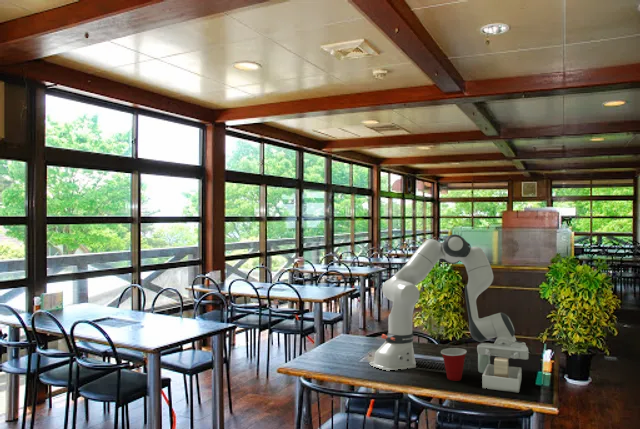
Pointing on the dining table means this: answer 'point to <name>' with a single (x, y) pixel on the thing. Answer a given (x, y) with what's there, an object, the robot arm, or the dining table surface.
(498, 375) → the birch block
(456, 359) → the plastic cup
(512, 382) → the tub
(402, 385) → the dining table surface
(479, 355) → the ceramic shaker
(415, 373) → the dining table surface
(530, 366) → the dining table surface
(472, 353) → the dining table surface
